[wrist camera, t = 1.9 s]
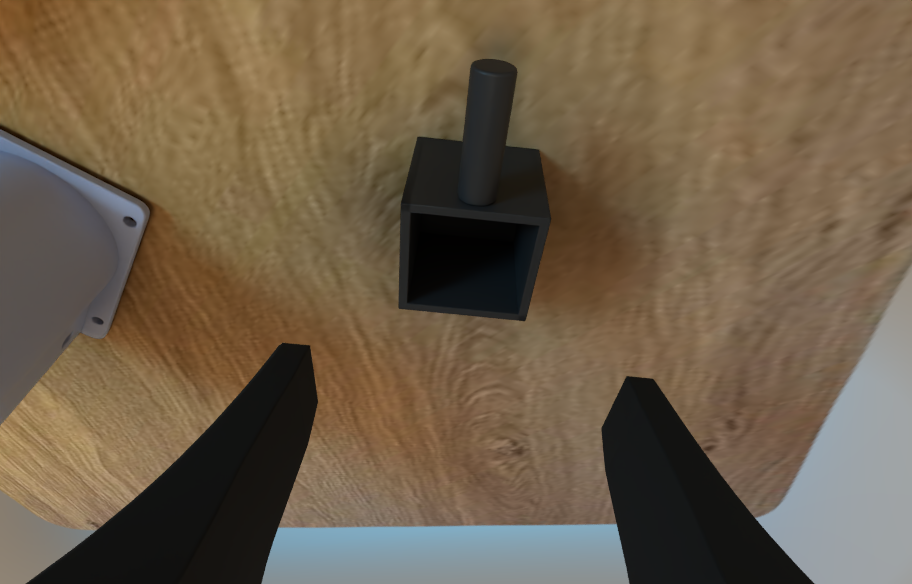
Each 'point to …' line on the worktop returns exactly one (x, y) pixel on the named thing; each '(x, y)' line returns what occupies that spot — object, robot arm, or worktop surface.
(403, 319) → the worktop surface
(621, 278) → the worktop surface
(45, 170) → the robot arm
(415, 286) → the scoop
